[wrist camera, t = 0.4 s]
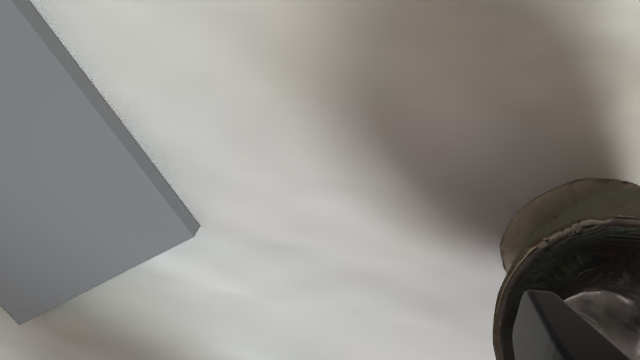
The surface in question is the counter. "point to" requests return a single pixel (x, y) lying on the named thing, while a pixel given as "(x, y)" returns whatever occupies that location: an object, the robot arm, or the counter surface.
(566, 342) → the robot arm
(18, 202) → the slate board
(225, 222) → the counter surface
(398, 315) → the counter surface
